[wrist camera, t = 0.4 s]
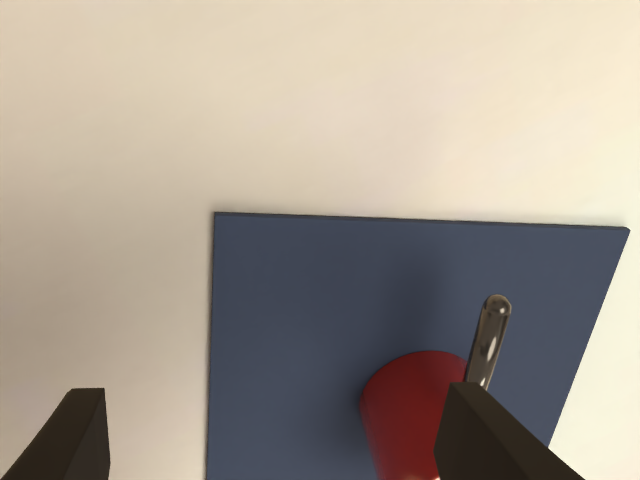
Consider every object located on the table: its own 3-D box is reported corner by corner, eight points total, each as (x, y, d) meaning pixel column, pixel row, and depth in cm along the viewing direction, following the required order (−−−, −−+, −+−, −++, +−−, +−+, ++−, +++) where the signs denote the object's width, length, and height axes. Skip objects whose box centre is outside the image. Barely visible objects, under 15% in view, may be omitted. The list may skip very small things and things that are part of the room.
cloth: (517, 518, 32) (519, 523, 32) (205, 534, 29) (205, 539, 29) (626, 227, 24) (630, 230, 24) (214, 211, 21) (214, 215, 21)
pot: (465, 443, 28) (521, 566, 23) (350, 446, 27) (381, 575, 22) (525, 239, 23) (613, 335, 18) (388, 235, 22) (439, 335, 17)
